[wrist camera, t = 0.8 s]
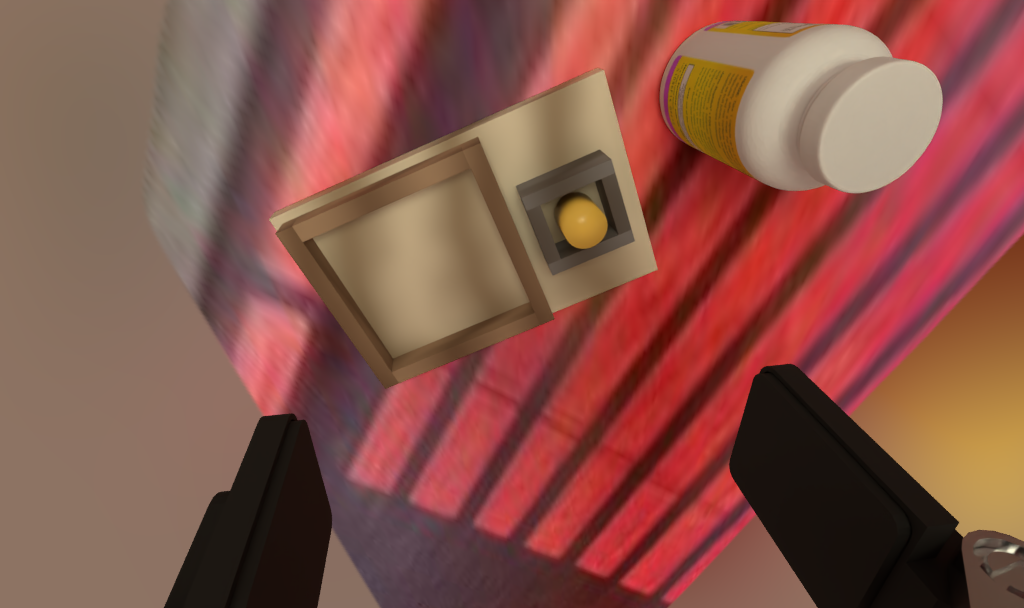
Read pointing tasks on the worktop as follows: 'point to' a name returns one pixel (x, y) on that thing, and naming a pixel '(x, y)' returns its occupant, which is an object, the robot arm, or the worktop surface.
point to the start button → (580, 220)
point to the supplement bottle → (801, 104)
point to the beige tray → (472, 232)
